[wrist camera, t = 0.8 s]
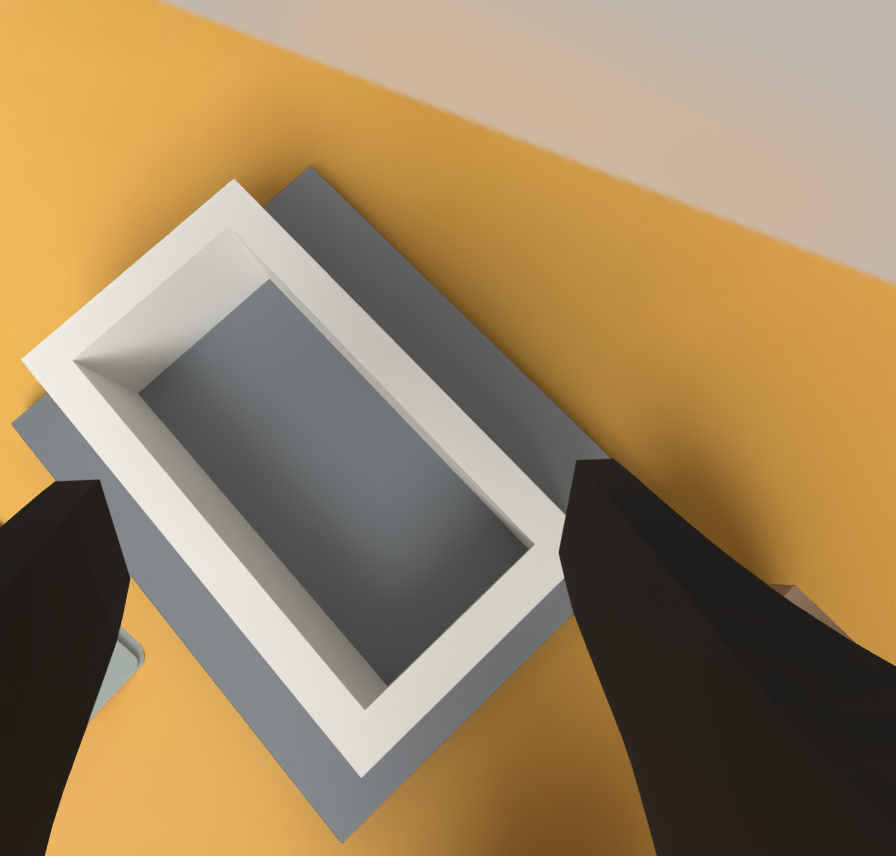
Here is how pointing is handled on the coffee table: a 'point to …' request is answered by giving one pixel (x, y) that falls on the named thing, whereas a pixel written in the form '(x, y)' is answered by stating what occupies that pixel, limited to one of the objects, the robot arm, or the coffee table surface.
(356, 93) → the coffee table surface
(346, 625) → the well
